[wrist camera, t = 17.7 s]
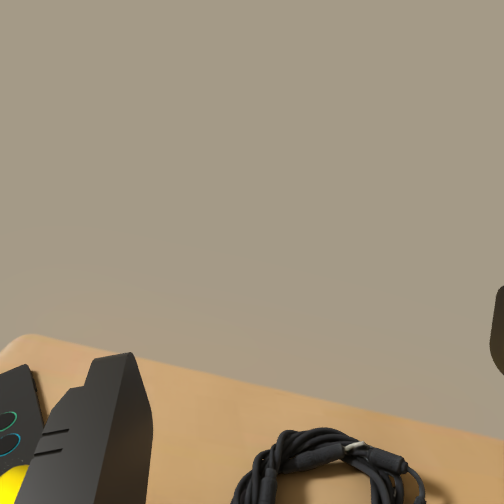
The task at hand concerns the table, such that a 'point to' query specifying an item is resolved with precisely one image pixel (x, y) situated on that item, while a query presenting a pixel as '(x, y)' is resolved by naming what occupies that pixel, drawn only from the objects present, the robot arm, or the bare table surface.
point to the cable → (319, 453)
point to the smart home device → (18, 418)
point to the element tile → (11, 483)
